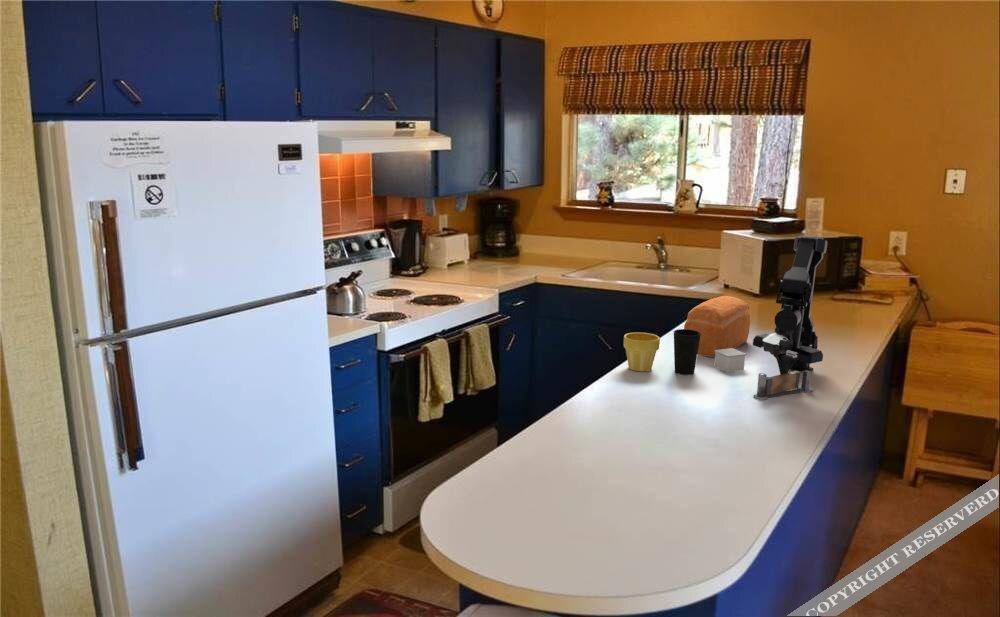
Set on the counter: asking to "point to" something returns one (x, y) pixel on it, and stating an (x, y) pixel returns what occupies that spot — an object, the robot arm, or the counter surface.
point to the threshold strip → (784, 393)
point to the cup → (685, 350)
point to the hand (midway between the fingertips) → (782, 378)
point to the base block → (729, 359)
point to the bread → (720, 324)
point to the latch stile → (805, 382)
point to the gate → (782, 383)
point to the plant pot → (641, 350)
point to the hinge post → (761, 387)
